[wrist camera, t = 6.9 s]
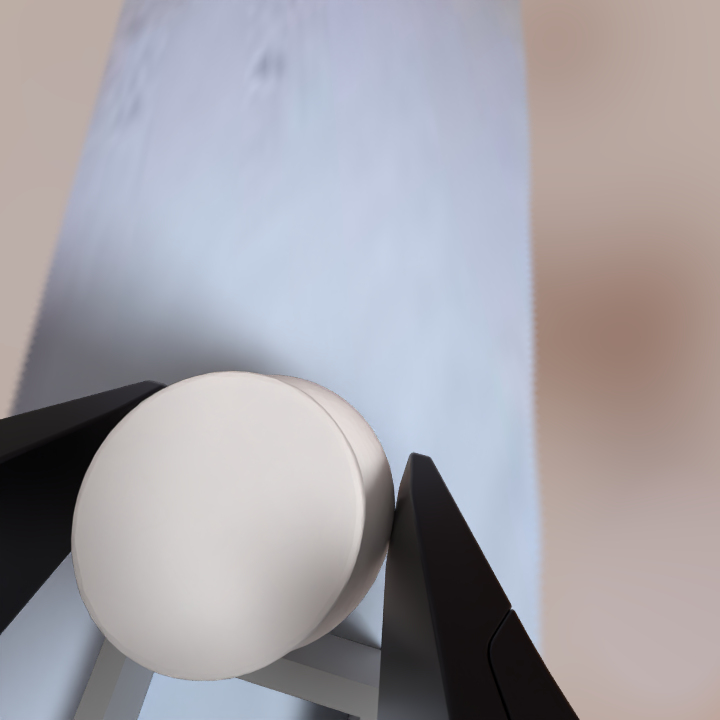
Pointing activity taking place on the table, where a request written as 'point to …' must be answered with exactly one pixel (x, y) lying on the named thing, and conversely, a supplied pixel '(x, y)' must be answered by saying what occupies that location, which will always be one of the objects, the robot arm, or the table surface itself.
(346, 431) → the supplement bottle
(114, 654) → the frame
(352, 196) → the table surface
